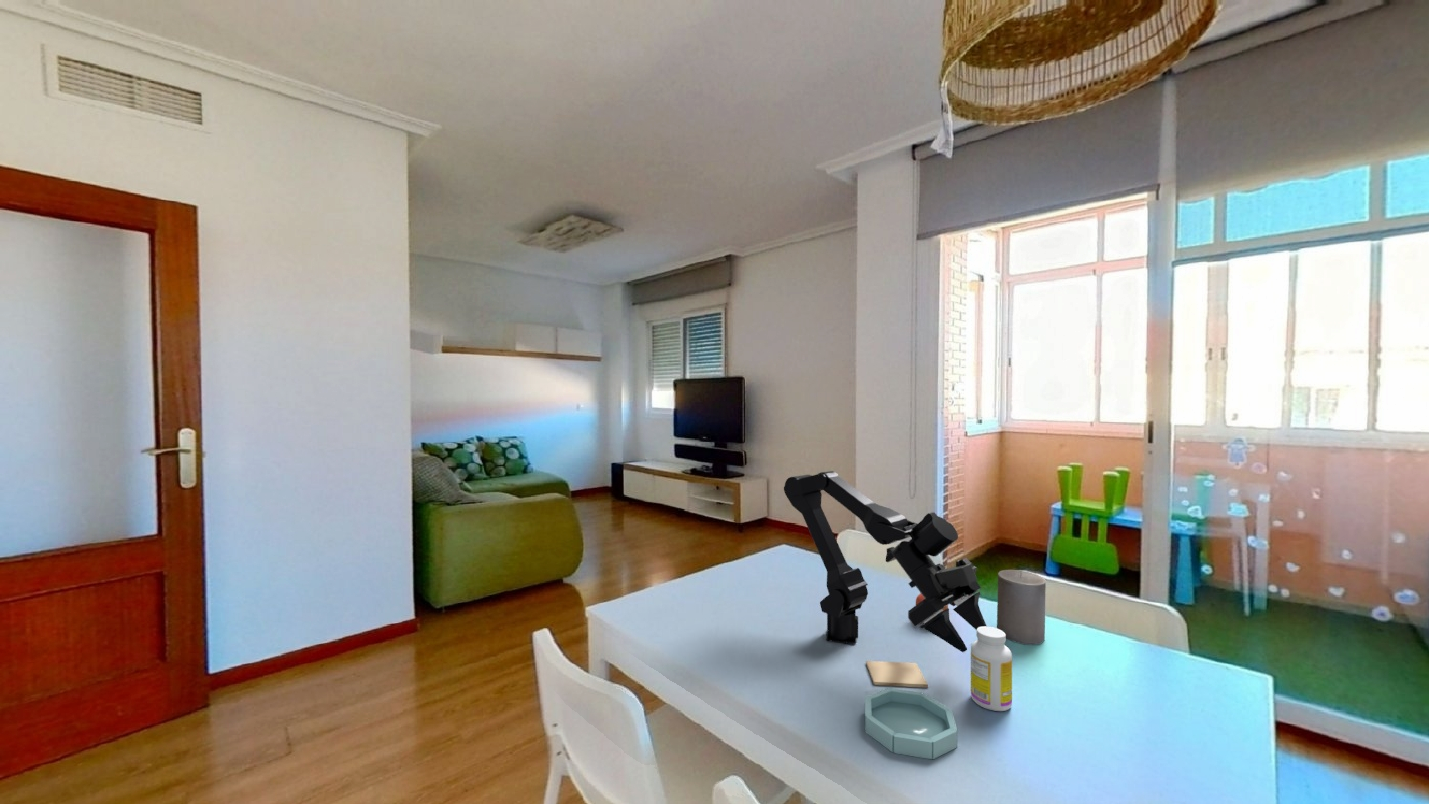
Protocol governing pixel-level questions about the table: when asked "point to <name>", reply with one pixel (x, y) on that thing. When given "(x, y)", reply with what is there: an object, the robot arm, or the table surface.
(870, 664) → the cork mat
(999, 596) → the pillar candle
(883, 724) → the bowl
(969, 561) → the robot arm
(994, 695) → the supplement bottle
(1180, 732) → the table surface
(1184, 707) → the table surface
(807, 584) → the table surface
